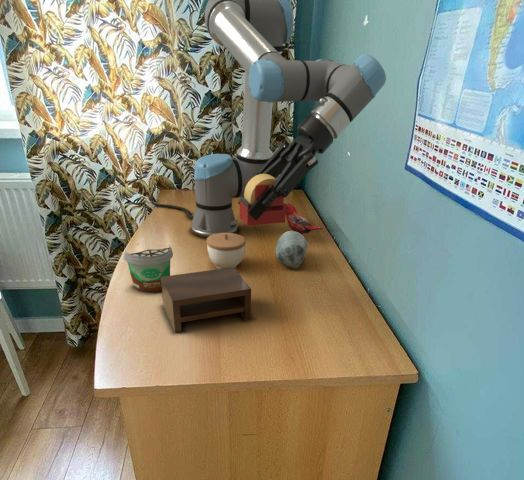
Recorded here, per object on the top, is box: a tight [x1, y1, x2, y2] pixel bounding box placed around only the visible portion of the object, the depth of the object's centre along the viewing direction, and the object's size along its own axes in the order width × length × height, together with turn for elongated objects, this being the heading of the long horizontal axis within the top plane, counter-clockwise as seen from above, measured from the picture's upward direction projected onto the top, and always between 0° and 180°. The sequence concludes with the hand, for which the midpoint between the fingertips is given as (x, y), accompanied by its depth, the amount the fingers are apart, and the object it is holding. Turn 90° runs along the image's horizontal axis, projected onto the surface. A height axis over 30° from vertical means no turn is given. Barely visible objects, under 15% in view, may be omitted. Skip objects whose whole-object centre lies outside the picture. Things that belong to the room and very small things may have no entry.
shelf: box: [161, 267, 252, 333], centre depth 106 cm, size 12×18×8 cm, turn 112°
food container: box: [123, 244, 174, 293], centre depth 114 cm, size 12×6×10 cm, turn 117°
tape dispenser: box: [238, 174, 288, 227], centre depth 99 cm, size 5×9×10 cm, turn 112°
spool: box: [275, 230, 308, 269], centre depth 132 cm, size 14×10×10 cm
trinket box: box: [206, 233, 246, 269], centre depth 128 cm, size 11×11×9 cm
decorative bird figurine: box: [285, 203, 324, 235], centre depth 147 cm, size 3×18×10 cm, turn 43°
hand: (246, 211), depth 99 cm, fingers closed on tape dispenser, 5 cm apart
